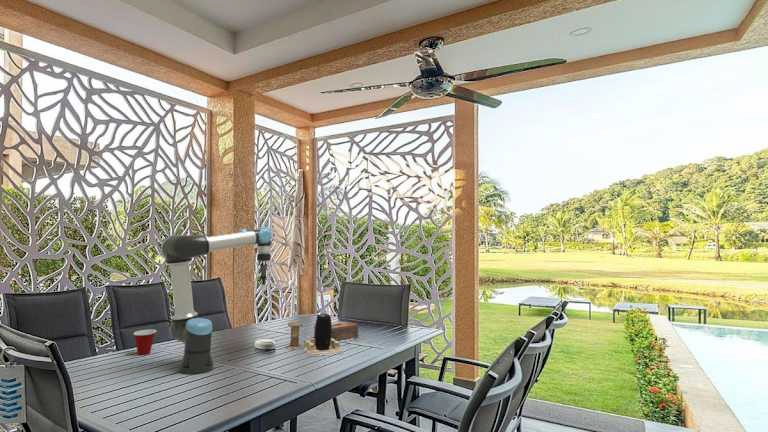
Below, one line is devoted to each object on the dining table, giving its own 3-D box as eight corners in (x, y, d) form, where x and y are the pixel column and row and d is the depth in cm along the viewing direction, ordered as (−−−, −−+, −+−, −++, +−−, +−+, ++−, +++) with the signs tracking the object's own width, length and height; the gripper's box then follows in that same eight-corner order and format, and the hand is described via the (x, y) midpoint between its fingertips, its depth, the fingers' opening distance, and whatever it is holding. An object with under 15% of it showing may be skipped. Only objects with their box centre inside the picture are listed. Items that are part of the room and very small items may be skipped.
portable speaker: (331, 350, 237) (332, 315, 238) (314, 351, 234) (316, 316, 236) (329, 347, 245) (330, 313, 246) (313, 347, 243) (315, 313, 244)
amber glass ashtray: (343, 354, 236) (343, 344, 236) (310, 357, 227) (311, 346, 228) (333, 346, 252) (333, 337, 252) (302, 349, 243) (302, 339, 244)
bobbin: (303, 348, 244) (304, 324, 246) (288, 350, 241) (290, 324, 242) (299, 345, 252) (300, 321, 253) (285, 346, 248) (286, 322, 249)
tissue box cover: (343, 335, 286) (343, 320, 287) (357, 339, 276) (358, 323, 277) (313, 341, 267) (314, 325, 267) (328, 345, 257) (329, 328, 258)
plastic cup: (127, 354, 221) (129, 331, 222) (146, 350, 231) (148, 328, 232) (139, 357, 216) (141, 334, 217) (159, 353, 226) (160, 330, 227)
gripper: (256, 255, 252) (256, 290, 249) (257, 251, 229) (256, 290, 225) (269, 255, 254) (268, 290, 251) (271, 251, 231) (270, 290, 227)
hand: (263, 290), depth 238 cm, fingers open, 13 cm apart
